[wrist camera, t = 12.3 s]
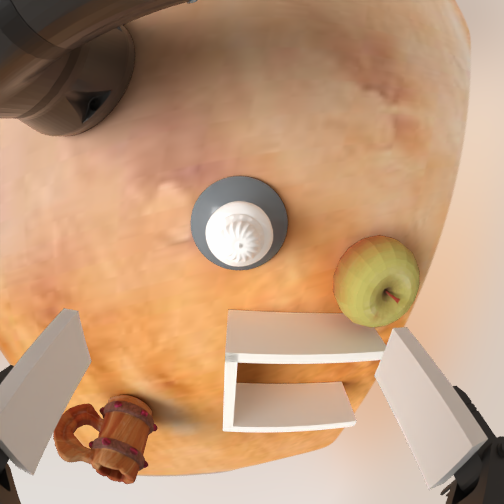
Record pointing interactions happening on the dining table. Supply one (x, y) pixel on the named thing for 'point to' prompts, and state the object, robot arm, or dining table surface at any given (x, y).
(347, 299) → the apple
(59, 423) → the mug
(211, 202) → the coaster
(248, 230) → the white rounded ribbed piece
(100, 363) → the dining table surface
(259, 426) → the cubby
